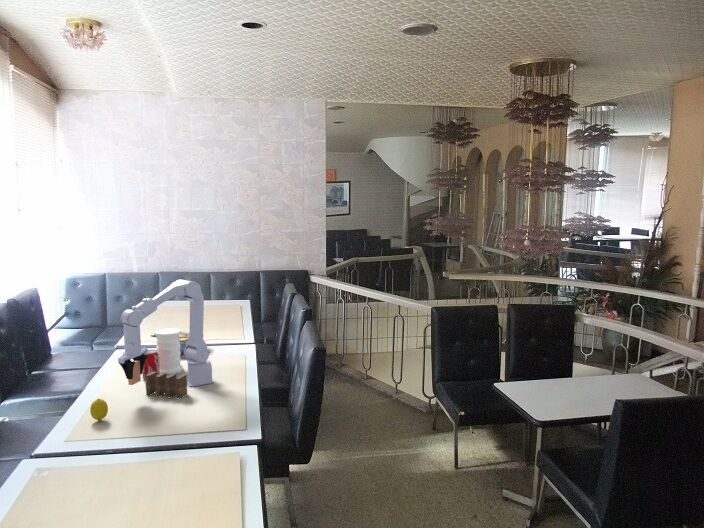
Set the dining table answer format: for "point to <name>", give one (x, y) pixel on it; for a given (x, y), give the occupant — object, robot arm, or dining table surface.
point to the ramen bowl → (181, 340)
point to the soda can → (151, 363)
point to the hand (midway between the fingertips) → (134, 376)
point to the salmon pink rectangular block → (135, 373)
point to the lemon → (99, 409)
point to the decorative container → (169, 350)
